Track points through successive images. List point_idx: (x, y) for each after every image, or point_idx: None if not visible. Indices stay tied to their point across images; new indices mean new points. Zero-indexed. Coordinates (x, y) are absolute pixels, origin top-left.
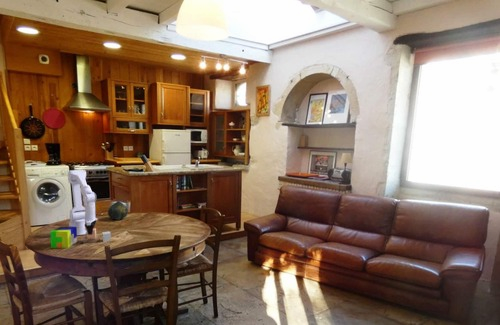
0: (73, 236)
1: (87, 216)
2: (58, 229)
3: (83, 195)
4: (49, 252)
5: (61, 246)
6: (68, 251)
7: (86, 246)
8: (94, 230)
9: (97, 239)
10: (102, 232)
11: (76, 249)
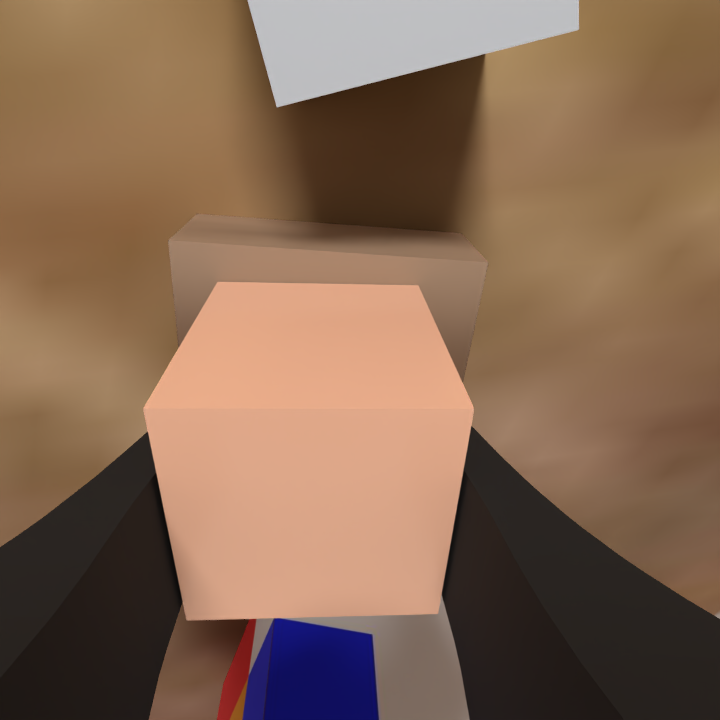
0: (392, 687)
1: None
2: None
3: None
4: None
5: None
6: (683, 555)
7: (608, 377)
8: (471, 420)
9: (279, 223)
10: (284, 81)
11: (665, 487)
